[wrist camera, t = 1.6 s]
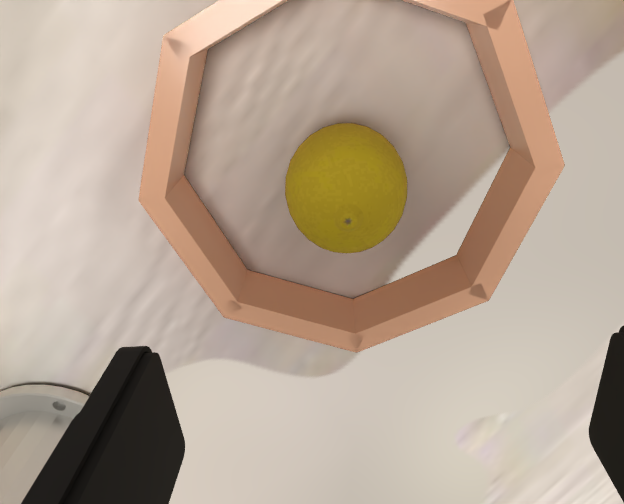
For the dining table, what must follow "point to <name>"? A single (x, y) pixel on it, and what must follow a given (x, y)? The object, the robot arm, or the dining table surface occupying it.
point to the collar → (394, 296)
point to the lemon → (346, 188)
